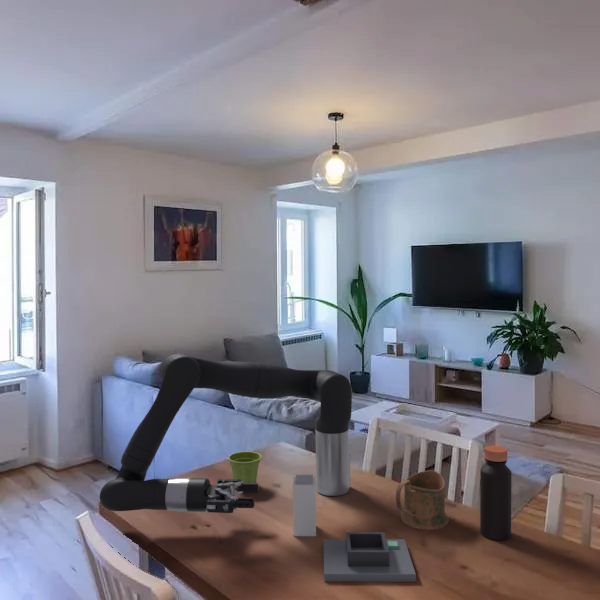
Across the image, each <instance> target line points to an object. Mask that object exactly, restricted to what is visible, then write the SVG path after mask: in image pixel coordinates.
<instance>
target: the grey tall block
mask: <svg viewBox="0 0 600 600" xmlns="http://www.w3.org/2000/svg"><path fill="white" fill-rule="evenodd" d="M316 492H317V490H316V476H314V474H295V476H294V477H293V480H292V511H293V512H292V513H293V514H292V515H293V518H292V521H293V527H292V528H293V537H317V507H316V506H317V502H316V501H317V495H316Z"/></svg>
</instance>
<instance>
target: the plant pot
mask: <svg viewBox="0 0 600 600" xmlns="http://www.w3.org/2000/svg"><path fill="white" fill-rule="evenodd" d="M227 459H228V461H229V463H230V467H231V470H232V471H231V472H232V477H233V478H232V479H241V482H243V483H257V480H258V471H259V464H260V462H261V459H262V455H261V454H260V453H258V452H256V451H239V452H238V451H237V452H234V453H231V454H230V455H228V458H227ZM233 483H236V482H233ZM236 487H237V486H236Z"/></svg>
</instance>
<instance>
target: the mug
mask: <svg viewBox="0 0 600 600" xmlns="http://www.w3.org/2000/svg"><path fill="white" fill-rule="evenodd" d="M445 485H446V484H445V479H444V477H443V476H442V475H441V473H439V472H438V471H436V470H432V469H431V470H424V471H420V472H417V473H415V474H412V475H410V476H408V477H407V478H406V479H404V480H402V481H400V482H399V484H398V485H397V486H396V490H395V505H396V507H397V509H398V510H399V511H401V513H400V520H401V522H403V524H405V525H407V526H409V527H410V528H413V529H419V530H424V529H425V530H426V531H432V530H433V531H435V530H440V529H443V528H445V527H446V526H447V525H448V524H449V519H450V518H449V516H448V515H447V514H446V511H445V508H446V504H445V503H446V501H445V492H446V490H445ZM403 488H404V502H403V503H404V505H403V506H404V508H403V506H402V502H401V493H402V489H403ZM439 528H440V529H439ZM425 530H424V531H425Z"/></svg>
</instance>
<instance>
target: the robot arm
mask: <svg viewBox="0 0 600 600" xmlns="http://www.w3.org/2000/svg"><path fill="white" fill-rule="evenodd" d="M158 375H159V378H160V380H161V385H160V386H159V387H160V388H159V390H158V393H157V395H156V398H155V399H154V401H153V403H152V405H151V407H149V408H150V409H149V410H148V411H147V413H146V415H145V416H144V418H143V419H142V421H141V422H140V423H139V425H138V426H137V428H136V429H135V430H134V433H133V434H132V435H131V437H130V439H129V442H128V444H127V445H126V448H125V449H124V451H123V453H122V456H121V459H120V464H121V467H120V468H119V472H118V473H117V475H116V477H115V479H112V480H109V481H107V482H106V483H105V484H104V485H103V486H102V488H101V490H100V492H99V501H100V503H101V506H103V507H104V508H105V509H106V510H108V511H111V512H131V511H140V510H141V511H142V510H152V511H153V510H154V511H155V510H156V511H173V512H193V513H194V512H202V513H203V512H207V513H214V514H215V513H219V514H220V513H221V514H233V513H234V511H235V510H238V509H254V508H255V497H250V496H249V497H244V496H243V497H241V496H240V497H239V496H238V497H236V495H238V494H239V495H240V494H258V493H259V492H260V491H259V486H260V485H259V484H258V482H256V483H243V482H241V479H233V478H219V479H217V480H216V481H217V482H216V483H217V484H211V481H210V479H209V478H208V477H176V478H175V477H173V478H151V479H146V476H147V472H148V470H149V468H150V466H151V464H152V463H153V460H154V458H155V456H156V454H157V452H158V451H159V448H160V446H161V444H162V442H163V440H164V438H165V436H166V434H167V433H168V430H169V428H170V427H171V424H172V422H173V421H174V420H175V417H176V416H177V414H178V412H179V411H180V410H181V408H182V406H183V405H184V403H185V402H186V401H187V399H188V397H189V396H190V394H191V393H192V392H193V390H194V389H207V390H208V389H209V390H215V391H220V392H223V393H227V394H229V395H230V394H231V395H235V396H240V397H244V398H253V399H264V400H266V399H267V400H269V399H270V400H272V399H279V398H287V397H301V398H307V399H312V400H315V401H317V402H320V413H319V414H320V415H319V416H318V417H317V418H316V419H315V421H314V422H315V423H314V425H315V427H314V428H315V429H314V431H315V483H316V492H317V493H319V494H321V495H323V496H329V497H331V496H332V497H336V496H343V495H346V494H347V493H349V491H350V487H351V454H350V453H349V452H350V449H349V448H350V446H349V445H350V443H349V442H350V438H349V431H350V430H349V428H350V427H349V425H350V422H351V418H352V409H353V408H352V407H353V405H352V403H353V402H352V399H353V392H352V385H351V382H350V380H349V379H348V377H346V376H345V375H344V374H341V373H339V372H336V371H334V370H330V369H316V370H315V369H314V370H311V369H307V370H306V369H305V370H304V369H296V368H295V369H294V368H290V367H286V366H281V365H276V364H270V363H264V362H263V363H262V362H252V361H233V360H232V361H224V360H223V361H218V360H209V359H205V358H199V357H195V356H190V355H186V354H183V353H174V354H171V355H169V356H166V358H165V359H163V361H162V362H161V364H160V366H159V370H158ZM145 479H146V480H145ZM234 482H236V483H234ZM236 486H237V487H236Z"/></svg>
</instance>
